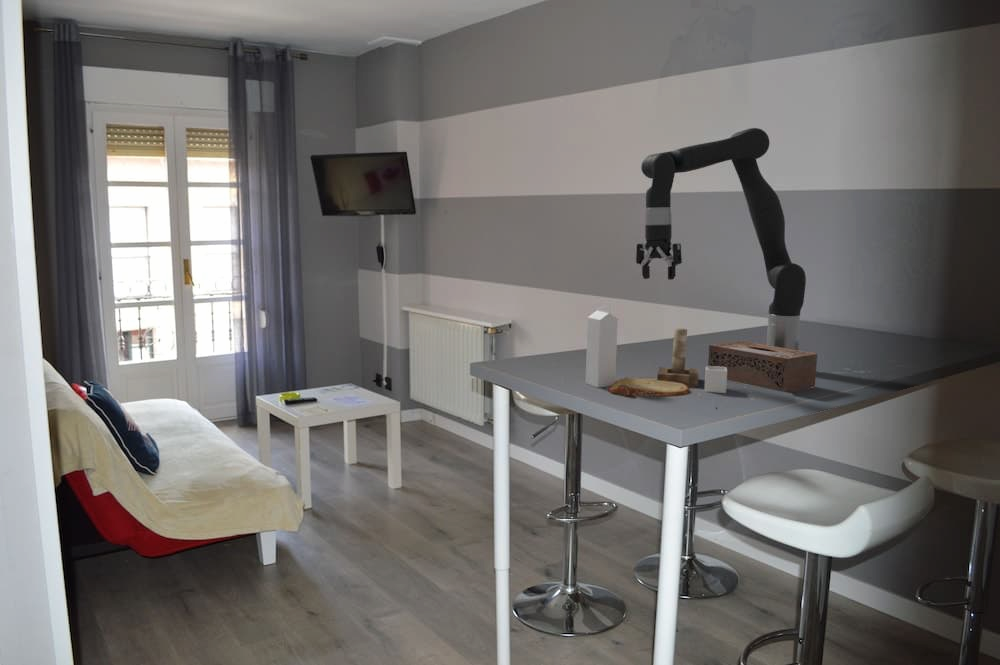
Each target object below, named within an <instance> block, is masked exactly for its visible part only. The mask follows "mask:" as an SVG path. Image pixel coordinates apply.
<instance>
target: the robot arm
mask: <svg viewBox="0 0 1000 665" xmlns="http://www.w3.org/2000/svg"><path fill="white" fill-rule="evenodd" d="M770 144H771V143H770V138H769V135H768V134H767V133H766V132H765V131H764V130H763V129H761V128H756V127H751V128H747V129H743V130H740V131H738V132H735V133H734V134H732V135H731V136H730V137H729V138H724V139H721V140H715V141H709V142H705V143H698V144H694V145H690V146H684V147H682V148H681V147H680V148H678V149H675V150H671V151H665V152H659V153H653V154H649V155H647V156H646V157H645V158H644V159H643V161H642V163H641V167H640V168H641V172H642V174H643V175H644V176H645V177H647V178H649V179H651V180H652V181H651V186H650V187H648V188H647V190H646V193H645V194H646V195H645V215H644V218H645V219H644V220H645V222H644V223H645V225H644V227H645V228H644V231H645V241H646V242H645V243H643V242H642V243H641V242H640V243H637V244H636V252H635V253H636V254H635V255H636V257H635V258H636V259H635V262H636V264H638V265H641V268H642V270H641V274H642V277H643V279H645V280H647V279H648V280H649V279H650V274H651V272H650V270H651V268H650V267H651V266H650V264H651V262H652V261H653V260H654V259H663V261H664V262H666V264H667V266H668V267H667V280H669V281H670V280H674V279H675V277H676V266H678V265H681V264H682V263H683V262H682V261H683V260H682V245H681V242H680V243H679V242H678V243H672V242H671V240H672V219H673V218H672V208H671V207H672V206H671V202H672V201H671V192H672V188H673V183H674V179H675V174H679V173H688V172H691V171H692V172H693V171H696V170H700V169H704V168H707V167H710V166H713V165H716V164H720V163H723V162H727V161H731V162H732V165H733V167H734V169H735V172H736V174H737V176H738V178H739V181H740V184H741V187H742V191H743V194H744V197H745V201H746V204H747V207H748V211H749V212H748V213H749V215H750V218H751V221H752V224H753V227H754V230H755V234H756V237H757V240H758V243H759V245H760V249H761V251H762V254H763V260H764V266H765V272H766V278H767V280H768V284H769V285H770V286H771V288H772V289H774V292H773V294H774V295H773V299H772V302H771V303H770V304H769V306H768V315H767V316H768V317H767V318H768V319H767V332H766V344H765V345H768V346H774V347H781V348H787V349H793V350H799V347H800V340H799V337H800V336H799V333H800V321H801V320H800V319H801V310H802V308H803V305H804V300H805V295H806V294H805V293H806V283H807V282H806V281H807V280H806V279H807V277H806V273H805V270H804V268H803V267H802V266H801V265H799V264H797V263H795V262H794V263H793V262H792V260H791V259H790V255H789V253H788V249H787V246H786V236H785V235H786V234H785V233H786V221H785V214H784V210H783V208H782V204H781V201H780V198H779V196H778V195H777V193H776V192H775V190H774V189H773V188H772V186H771V185H770V184H769V183H768V182H767V180H766V179H765V178H764V176H763V175H762V173H761V171H760V168H759V165H758V164H759V163H758V161H757V160H758V159H760V158H762V157H763V156H764V155H765V154H766V153H767V152H768V150H769V147H770ZM645 251H646V253H645ZM671 251H672V253H671ZM799 351H800V350H799Z"/></svg>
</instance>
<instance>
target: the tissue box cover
mask: <svg viewBox="0 0 1000 665" xmlns="http://www.w3.org/2000/svg"><path fill="white" fill-rule="evenodd" d="M708 346H709V347H708V358H707V359H708V360H707V363H708V364H707V366H719V367H727V381H731V382H737V383H741V384H744V385H749V386H755V387H760V388H764V389H769V390H773V391H777V392H782V393H788V392H790V393H792V392H793V393H797V392H796V391H798V392H801V391H800V390H802V391H804V390H803V389H807V390H809V389H808V388H811V387H814V386H815V387H816V376H817V365H818V363H817V362H818V353H815V352H811V351H804V350H793V349H787V348H781V347H774V346H768V345H766V344H762V343H755V342H749V341H744V340H734V341H729V342H728V341H727V342H723V343H722V342H721V343H715V344H714V343H713V344H709V345H708Z"/></svg>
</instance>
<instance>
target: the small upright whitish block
mask: <svg viewBox="0 0 1000 665" xmlns="http://www.w3.org/2000/svg"><path fill="white" fill-rule="evenodd" d="M704 371H705V372H704V392H705V393H719V394H720V393H721V394H727V384H728V380H727V367H719V366H708V365H705V370H704Z"/></svg>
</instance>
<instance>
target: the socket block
mask: <svg viewBox="0 0 1000 665" xmlns="http://www.w3.org/2000/svg"><path fill="white" fill-rule="evenodd" d="M656 380H660V381H667V382H676V383H682V384H684V385H686V386H688V388H689V387H690V388H691V387H692V388H698V387H699V369H698V368H690V367H689V368H686V367H685V371H684V374H677V373H672V366H671V367H669V366H659V367H658V370H657V379H656Z"/></svg>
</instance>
